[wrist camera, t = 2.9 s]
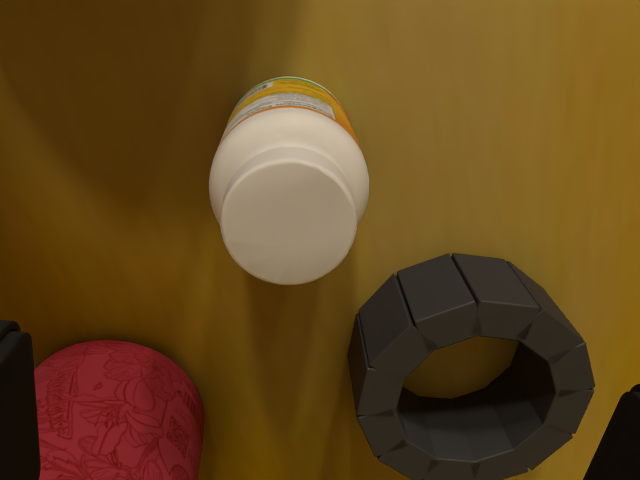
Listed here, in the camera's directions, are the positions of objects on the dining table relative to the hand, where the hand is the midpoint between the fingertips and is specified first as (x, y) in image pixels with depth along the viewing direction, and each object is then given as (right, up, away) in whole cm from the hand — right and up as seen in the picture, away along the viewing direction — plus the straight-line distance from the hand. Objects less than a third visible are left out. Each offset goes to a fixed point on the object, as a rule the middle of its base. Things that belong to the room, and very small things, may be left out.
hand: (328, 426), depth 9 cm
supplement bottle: (-2, +8, +16) cm, 18 cm away
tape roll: (+7, -3, +21) cm, 23 cm away
